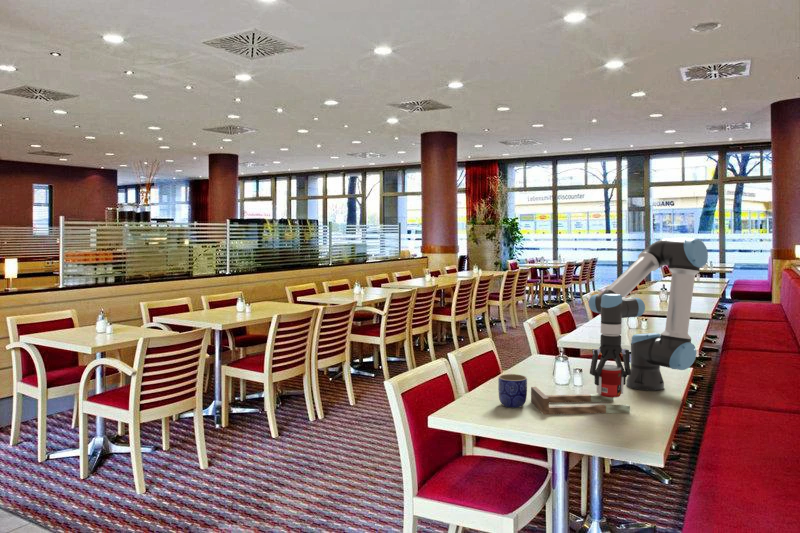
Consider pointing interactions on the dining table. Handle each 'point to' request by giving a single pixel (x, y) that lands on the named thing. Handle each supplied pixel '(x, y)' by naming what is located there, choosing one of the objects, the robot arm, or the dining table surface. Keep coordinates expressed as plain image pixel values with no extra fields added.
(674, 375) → the dining table surface
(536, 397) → the bay
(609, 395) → the canned food
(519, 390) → the planter
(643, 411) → the dining table surface
